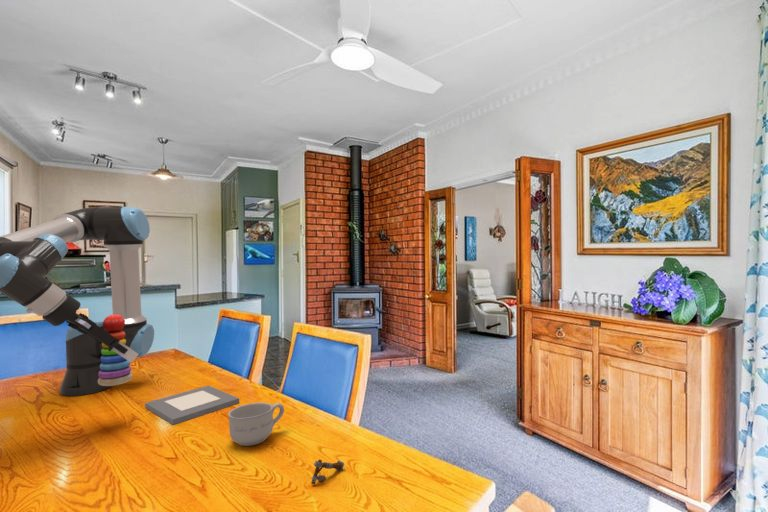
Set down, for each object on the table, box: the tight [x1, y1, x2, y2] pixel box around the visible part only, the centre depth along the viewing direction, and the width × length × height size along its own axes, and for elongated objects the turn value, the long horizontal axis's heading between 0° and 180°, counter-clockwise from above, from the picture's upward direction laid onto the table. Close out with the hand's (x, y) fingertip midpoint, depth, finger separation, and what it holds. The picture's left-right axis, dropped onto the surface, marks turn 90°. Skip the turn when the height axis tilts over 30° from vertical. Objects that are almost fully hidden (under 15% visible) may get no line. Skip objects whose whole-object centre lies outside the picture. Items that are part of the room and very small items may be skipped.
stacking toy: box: [98, 313, 133, 387], centre depth 107 cm, size 8×8×19 cm
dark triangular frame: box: [310, 459, 345, 485], centre depth 81 cm, size 2×8×4 cm, turn 140°
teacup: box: [227, 402, 285, 447], centre depth 98 cm, size 14×11×8 cm
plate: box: [144, 385, 240, 426], centre depth 121 cm, size 20×20×2 cm
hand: (129, 356), depth 110 cm, fingers closed on stacking toy, 6 cm apart
